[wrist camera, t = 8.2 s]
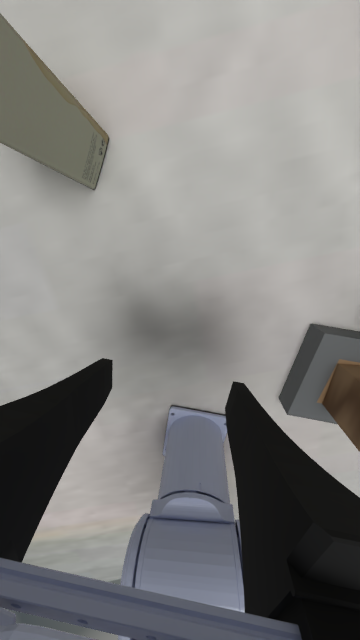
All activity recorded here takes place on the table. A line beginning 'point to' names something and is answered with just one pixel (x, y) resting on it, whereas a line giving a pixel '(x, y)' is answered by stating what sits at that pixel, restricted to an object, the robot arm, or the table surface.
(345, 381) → the walnut cube
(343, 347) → the charcoal block
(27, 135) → the skincare box
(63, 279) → the table surface
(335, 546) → the robot arm
